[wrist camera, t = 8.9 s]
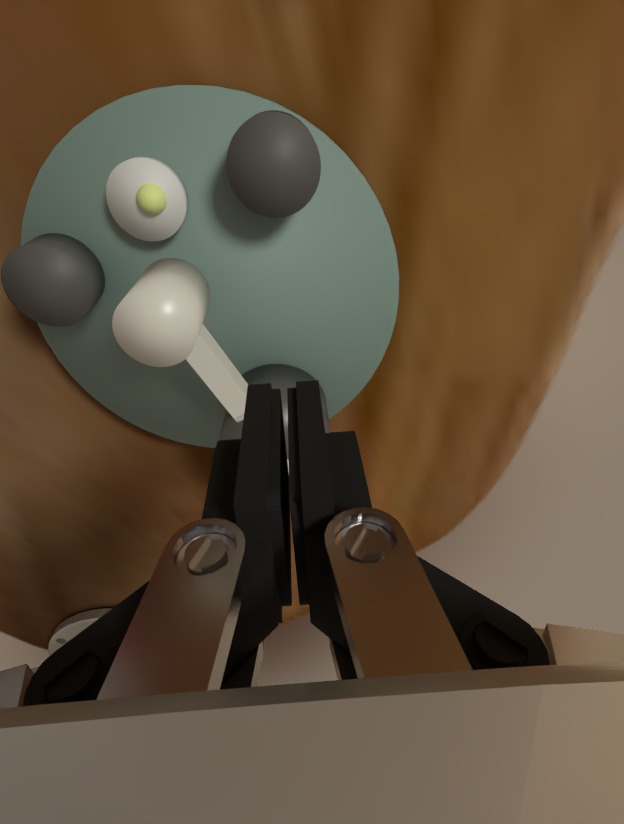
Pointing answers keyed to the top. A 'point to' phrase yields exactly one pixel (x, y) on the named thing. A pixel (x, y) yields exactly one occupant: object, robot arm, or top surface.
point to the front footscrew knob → (193, 340)
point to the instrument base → (206, 250)
